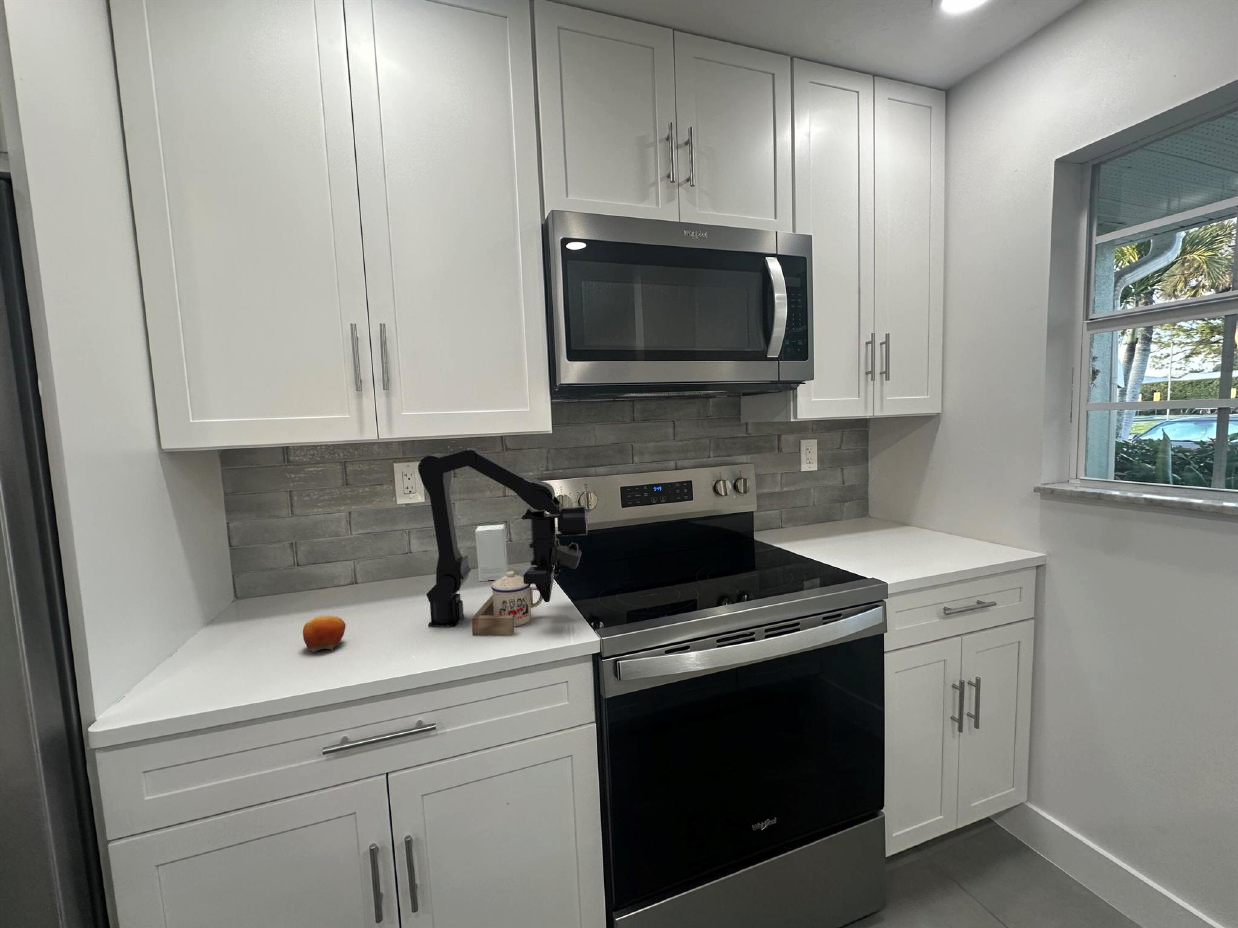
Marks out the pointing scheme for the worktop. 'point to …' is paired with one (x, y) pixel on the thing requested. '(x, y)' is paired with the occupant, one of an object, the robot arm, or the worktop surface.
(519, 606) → the teacup with lid
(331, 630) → the fruit
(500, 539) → the skincare box
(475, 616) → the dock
